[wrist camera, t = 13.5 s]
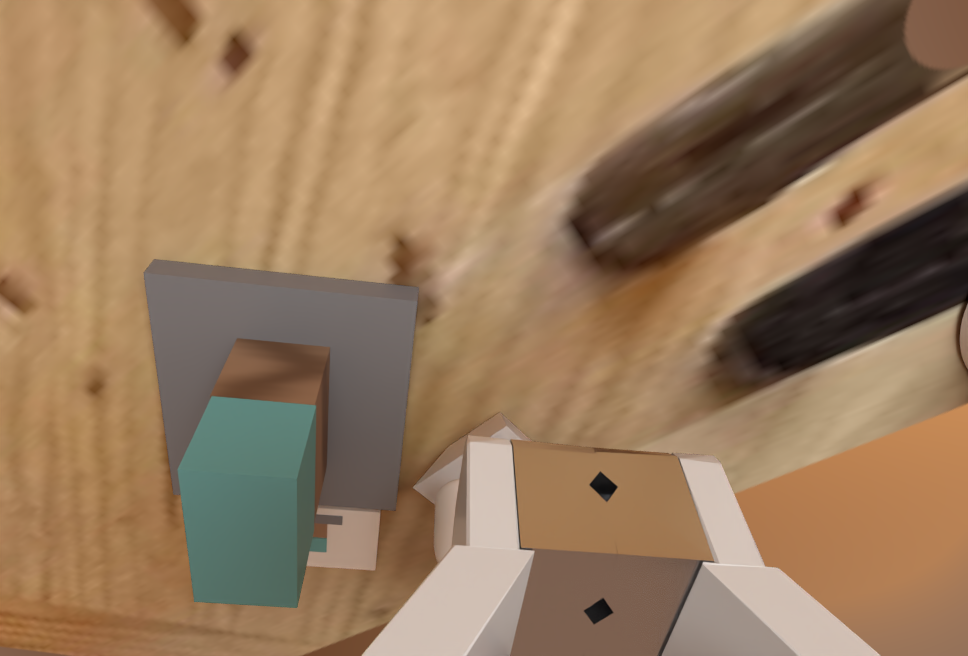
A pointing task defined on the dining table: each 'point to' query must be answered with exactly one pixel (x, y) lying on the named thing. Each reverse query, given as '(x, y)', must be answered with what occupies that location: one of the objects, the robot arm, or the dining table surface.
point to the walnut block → (282, 384)
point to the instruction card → (345, 538)
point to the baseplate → (299, 320)
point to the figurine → (456, 478)
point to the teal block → (250, 501)
